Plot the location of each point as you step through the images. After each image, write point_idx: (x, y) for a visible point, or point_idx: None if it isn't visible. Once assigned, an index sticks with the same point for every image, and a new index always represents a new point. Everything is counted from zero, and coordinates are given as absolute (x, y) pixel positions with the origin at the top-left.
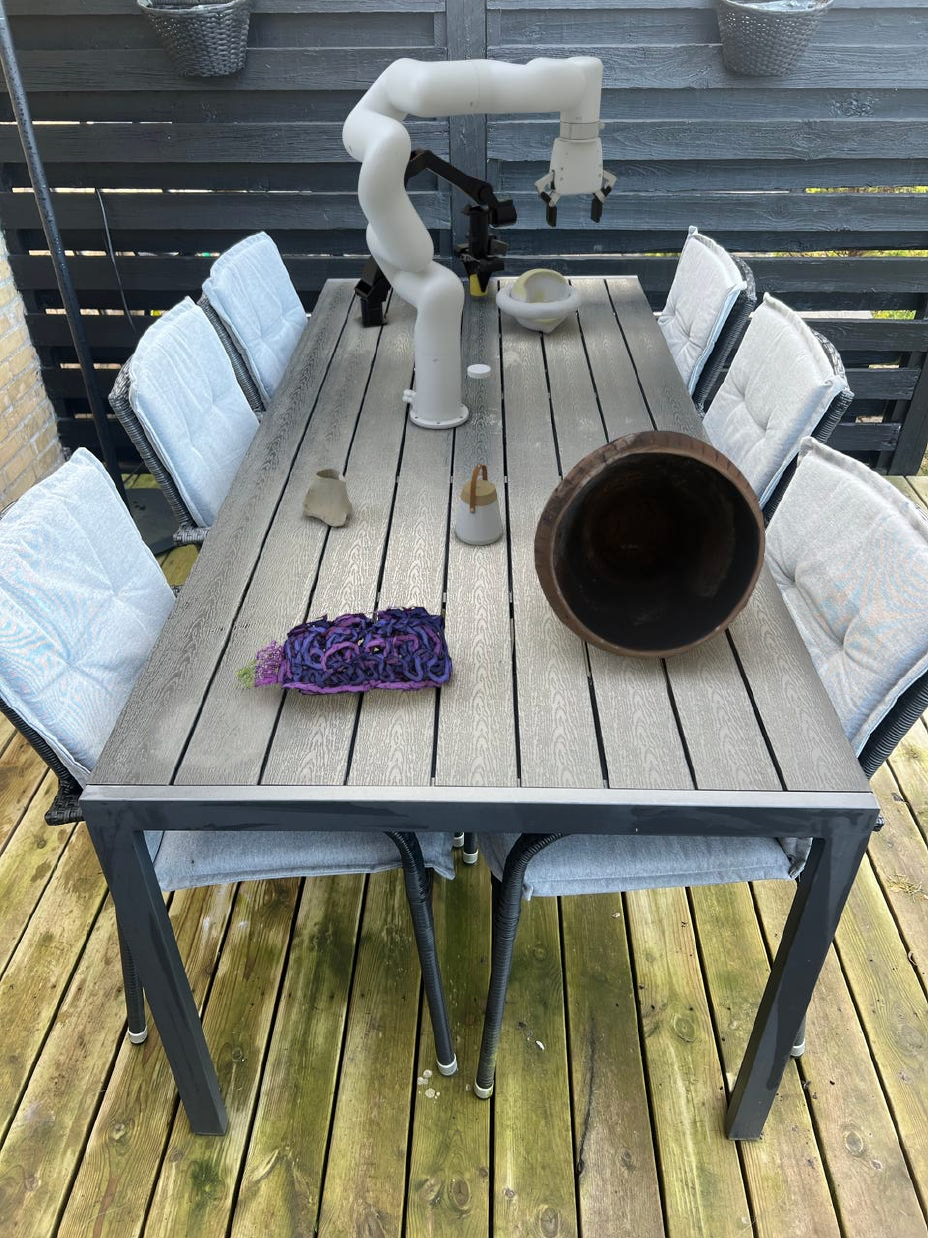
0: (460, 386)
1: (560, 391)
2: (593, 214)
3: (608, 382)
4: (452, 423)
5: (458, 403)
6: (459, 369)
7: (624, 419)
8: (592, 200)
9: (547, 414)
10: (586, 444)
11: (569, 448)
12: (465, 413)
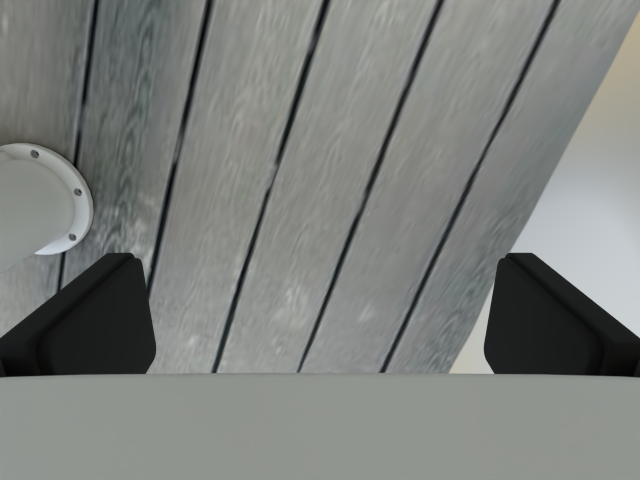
0: (38, 241)
1: (301, 165)
2: (511, 325)
3: (415, 155)
4: (54, 253)
5: (52, 240)
6: (7, 263)
7: (362, 307)
8: (586, 358)
9: (241, 251)
10: (266, 361)
11: (237, 364)
12: (82, 224)
